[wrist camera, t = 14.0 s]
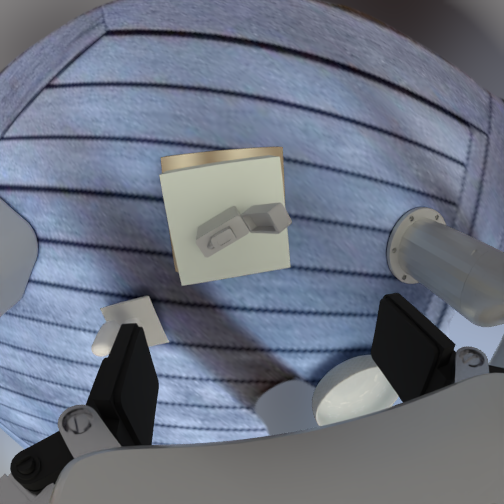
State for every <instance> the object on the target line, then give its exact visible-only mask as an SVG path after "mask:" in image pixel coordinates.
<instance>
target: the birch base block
mask: <svg viewBox="0 0 504 504" xmlns="http://www.w3.org/2000/svg"><path fill="white" fill-rule="evenodd" d="M266 155H272V156H279V157H280V163H281V172H282V181H283V191H284V201H285V189H284V167H283V147H260V148H244V149H230V150H219V151H208V152H198V153H189V154H181V155H173V156H165V157H161V166H162V173H164V172H165V171H168V170H173V169H179V168H184V167H190V166H196V165H202V164H208V163H214V162H221V161H228V160H235V159H242V158H249V157H257V156H266ZM168 225H169V224H168ZM169 232H170V229H169ZM170 239H171V234H170ZM171 245H172V252H173V258H174V264H175V270H176V272H179V271H178V266H177V262H176V258H175V253H174V248H173V244H172V239H171Z"/></svg>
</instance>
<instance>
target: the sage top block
mask: <svg viewBox="0 0 504 504" xmlns="http://www.w3.org/2000/svg"><path fill="white" fill-rule="evenodd" d="M159 176H160V182H161V187H162V193H163V198H164V204H165V209H166V214H167V219H168V224H169V229H170V234H171V239H172V244H173V248H174V253H175V258H176V262H177V266H178V271H179V275H180V279H181V284H182V286H184V285H190V284H196V283H202V282H208V281H214V280H220V279H226V278H232V277H238V276H244V275H249V274H255V273H261V272H267V271H272V270H278V269H283V268H289V267H290V255H289V244H288V232H287V228H285V229H284V230H283V231H282V232H281V233H279V234H267V233H251V232H250V231H249V233H248V234H247V235H245V236H244V237H242V238H240V239H239V240H237V241H235V242H233V243H232V244H230V245H228V246H227V247H225V248H223V249H221V250H220V251H218V252H216V253H215V254H213V255H211V256H210V257H208V258H207V257H205V256H204V255H203V253H202V252H201V250H200V249H199V247H198V246H197V244H196V236H197V228H198V226H200V225H202V224H203V223H205V222H207V221H208V220H210V219H211V218H213V217H215V216H217V215H218V214H220V213H222V212H223V211H225V210H227V209H228V208H230V207H232V206H236V208H237V209H238V211H239V213H240V214H242V213H243V212H244V211H246V210H247V209H248V208H250V207H251V206H252V205H261V204H270V203H282V204H283V206H284V208H285V201H284V191H283V181H282V172H281V163H280V157H279V156H272V155H266V156H257V157H249V158H242V159H235V160H228V161H221V162H214V163H208V164H202V165H196V166H190V167H184V168H179V169H173V170H168V171H165V172H164V173H162V174H160V175H159Z"/></svg>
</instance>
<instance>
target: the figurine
mask: <svg viewBox="0 0 504 504" xmlns="http://www.w3.org/2000/svg"><path fill="white" fill-rule="evenodd" d="M100 309H101V311H102V314H103V316H104V318H105V320H106V323H104V324H103V325H102V327H101V328H100V330H99V332H98V334H97V336H96V338H95V340H94V342H93V344H92V352H93V354H95V355H96V356H100V357H102V356H106V355H108V354H109V353H110V351H111V349H112V346H113V344H114V341H115V339H116V336H117V334H118V332H119V329H120V327H121V325H122V324H127V323H137V325H138V327H143V330H144V333H145V337H146V341H147V344H148V347H149V346H154V345H158V344H163V343H168V342H169V341H168V339H167V337H166V335H165V333H164V330H163V328H162V326H161V324H160V321H159V319H158V317H157V314H156V312H155V310H154V307H153V305H152V302H151V300H150V298H149V296H143V297H139V298H135V299H131V300H127V301H123V302H120V303H116V304H113V305H110V306H107V307H104V308H100Z"/></svg>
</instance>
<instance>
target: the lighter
mask: <svg viewBox="0 0 504 504" xmlns="http://www.w3.org/2000/svg"><path fill="white" fill-rule="evenodd" d="M291 223H292V221H291V219H290V217H289V215H288V213H287V211H286V209H285V208H284V206H283V204H282V203H270V204H261V205H252V206H251V207H250V208H248V209H247V210H246V211H244V212H243V213H242V214H240V213H239V211H238V209H237V208H236V206H232V207H230V208H228V209H227V210H225V211H223V212H222V213H220V214H218V215H217V216H215V217H213V218H211V219H210V220H208V221H207V222H205V223H203V224H202V225H200V226H198V228H197V236H196V244H197V246H198V247H199V249H200V250H201V252H202V253H203V255H204V256H205V257H207V258H208V257H210V256H211V255H213V254H215V253H216V252H218V251H220V250H221V249H223V248H225V247H227V246H228V245H230V244H232V243H233V242H235V241H237V240H239V239H240V238H242V237H244V236H245V235H247V234H248V233H249V231H250V232H251V233H267V234H279V233H281V232H282V231H283V230H284V229H285V228H287V227H288V226H289V225H290V224H291Z"/></svg>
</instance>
